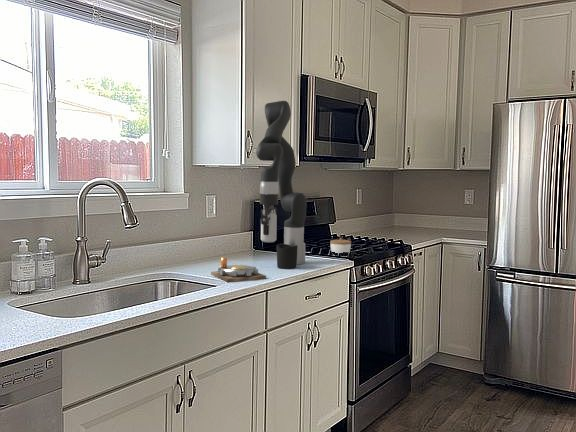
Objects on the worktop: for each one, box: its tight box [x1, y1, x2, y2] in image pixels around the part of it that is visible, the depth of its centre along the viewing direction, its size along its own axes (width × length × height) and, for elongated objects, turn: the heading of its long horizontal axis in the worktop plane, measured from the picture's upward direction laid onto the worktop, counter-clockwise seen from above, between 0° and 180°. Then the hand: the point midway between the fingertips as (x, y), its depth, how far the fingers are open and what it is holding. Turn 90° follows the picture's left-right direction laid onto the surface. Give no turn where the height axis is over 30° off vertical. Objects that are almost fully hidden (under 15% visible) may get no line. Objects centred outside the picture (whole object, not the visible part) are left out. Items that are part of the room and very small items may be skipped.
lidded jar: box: [329, 237, 352, 253], centre depth 284 cm, size 11×11×9 cm
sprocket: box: [217, 257, 259, 276], centre depth 225 cm, size 16×16×6 cm
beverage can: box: [260, 211, 278, 243], centre depth 225 cm, size 6×6×12 cm
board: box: [210, 270, 267, 283], centre depth 225 cm, size 17×17×1 cm
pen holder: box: [276, 243, 298, 270], centre depth 248 cm, size 9×9×10 cm
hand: (268, 233), depth 225 cm, fingers closed on beverage can, 6 cm apart
